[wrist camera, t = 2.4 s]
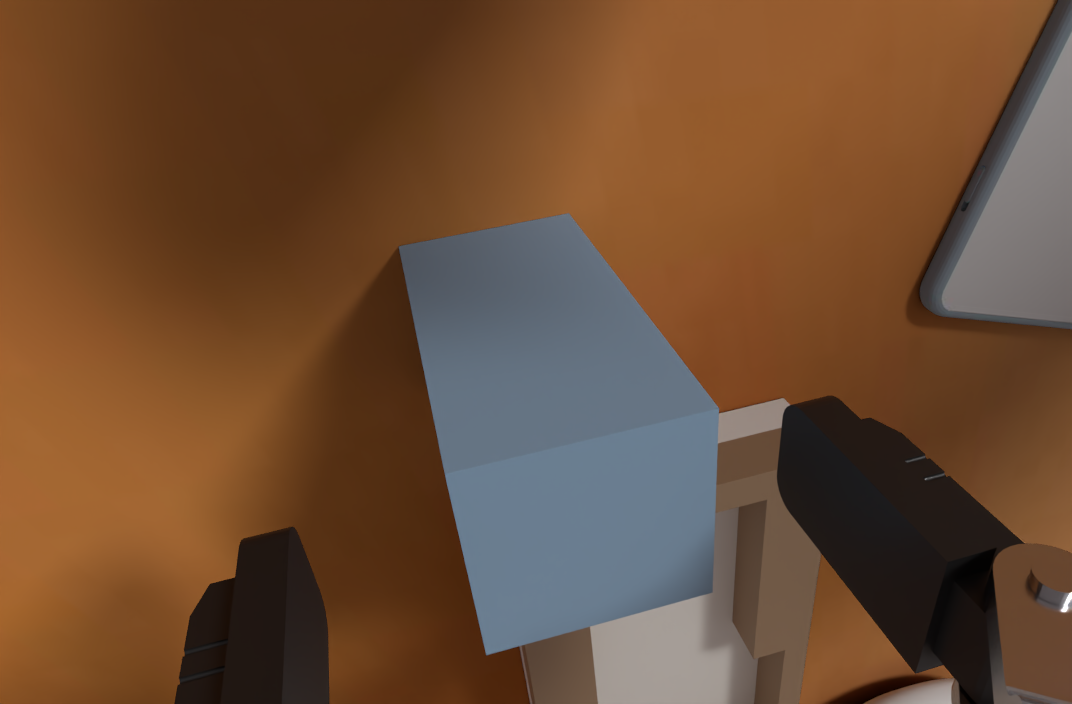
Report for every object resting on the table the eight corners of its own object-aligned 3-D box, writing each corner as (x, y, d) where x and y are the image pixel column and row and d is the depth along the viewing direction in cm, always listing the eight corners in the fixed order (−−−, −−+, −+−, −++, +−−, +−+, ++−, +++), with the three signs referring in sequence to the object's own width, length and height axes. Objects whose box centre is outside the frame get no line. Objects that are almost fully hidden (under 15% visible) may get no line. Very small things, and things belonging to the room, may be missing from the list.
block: (568, 213, 17) (718, 408, 11) (580, 356, 19) (712, 592, 13) (398, 246, 17) (445, 474, 10) (430, 389, 19) (486, 655, 12)
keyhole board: (783, 398, 22) (835, 454, 20) (755, 695, 30) (790, 759, 28) (485, 469, 21) (505, 539, 18) (540, 760, 29) (558, 833, 26)
